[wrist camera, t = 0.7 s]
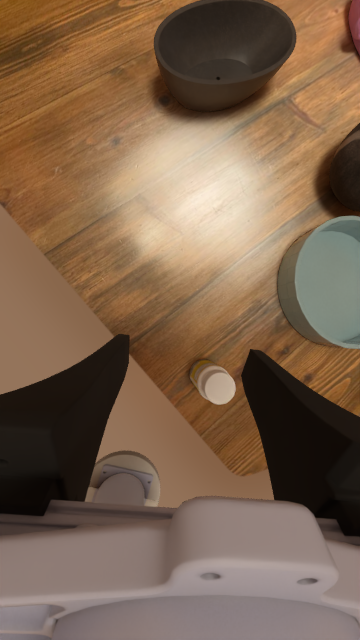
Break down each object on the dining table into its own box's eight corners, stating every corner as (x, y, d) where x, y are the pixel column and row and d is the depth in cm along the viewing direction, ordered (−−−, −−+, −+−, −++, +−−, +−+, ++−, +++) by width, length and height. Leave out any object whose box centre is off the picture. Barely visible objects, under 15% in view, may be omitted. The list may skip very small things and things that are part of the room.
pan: (366, 360, 38) (394, 364, 34) (262, 324, 36) (279, 324, 31) (393, 252, 40) (423, 243, 35) (296, 210, 37) (316, 195, 33)
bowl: (282, 109, 37) (308, 66, 31) (168, 138, 34) (172, 97, 28) (258, 43, 37) (280, -14, 31) (140, 67, 34) (138, 9, 27)
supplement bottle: (218, 385, 34) (240, 405, 26) (191, 390, 34) (204, 412, 25) (215, 356, 34) (236, 366, 26) (187, 360, 34) (199, 372, 25)
